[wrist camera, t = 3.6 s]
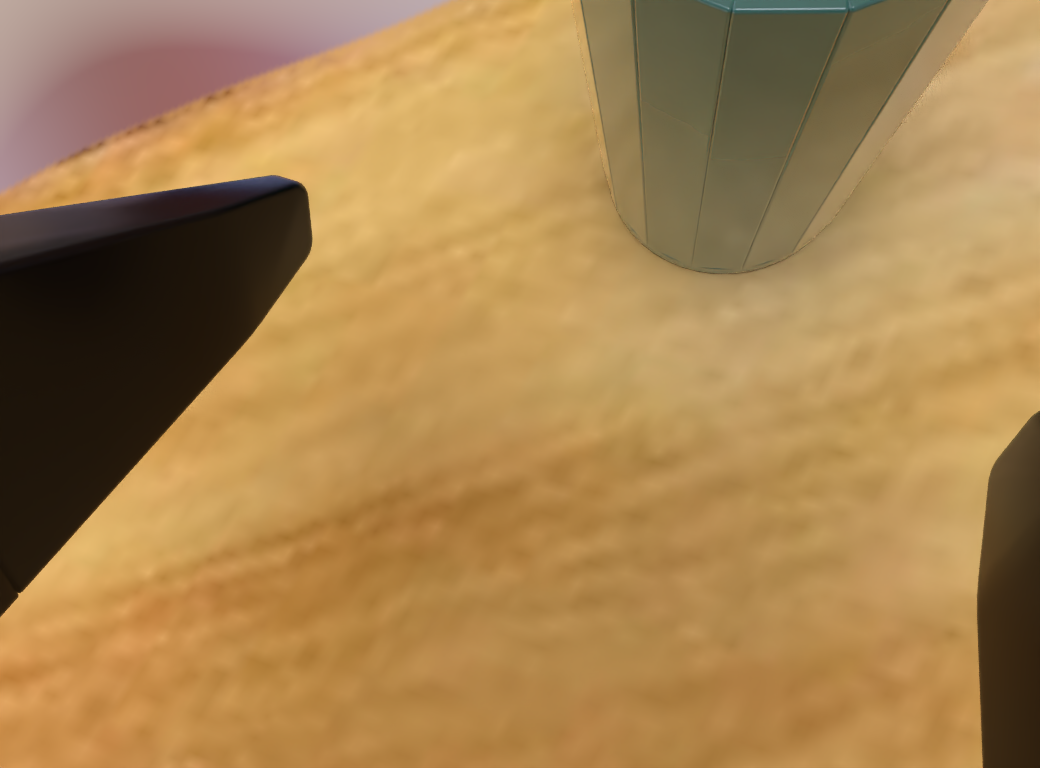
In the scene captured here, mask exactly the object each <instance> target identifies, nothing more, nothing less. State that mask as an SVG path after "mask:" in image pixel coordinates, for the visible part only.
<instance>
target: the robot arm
mask: <svg viewBox="0 0 1040 768" xmlns="http://www.w3.org/2000/svg"><path fill="white" fill-rule="evenodd" d="M311 247H312V229H311V220H310V210H309V200H308V193H307V191H306V188H305V187H304V186H303V185H302V184H301V183H299V182H297V181H294V180H290V179H287V178H284V177H281V176H276V175H271V176H264V177H257V178H250V179H244V180H237V181H230V182H223V183H216V184H210V185H203V186H196V187H189V188H182V189H175V190H169V191H162V192H155V193H148V194H141V195H135V196H128V197H121V198H114V199H107V200H101V201H94V202H87V203H80V204H73V205H67V206H60V207H53V208H46V209H39V210H33V211H26V212H19V213H12V214H5V215H0V617H1V616H2V615H3V613H4V612H5V611H6V610H7V609H8V608H9V607H10V606H11V604H12V603H13V602H14V601H15V600H16V599H17V598H18V593H21V592H22V591H23V590H24V589H25V588H26V587H27V586H28V585H29V584H30V583H31V581H32V580H33V579H34V578H35V577H36V576H37V575H38V574H39V573H40V571H41V570H42V569H43V568H44V567H45V566H46V565H47V564H48V562H49V561H50V560H51V559H52V558H53V557H54V556H55V555H56V554H57V552H58V551H59V550H60V549H61V548H62V547H63V546H64V545H65V543H66V542H67V541H68V540H69V539H70V538H71V537H72V536H73V535H74V533H75V532H76V531H77V530H78V529H79V528H80V527H81V526H82V524H83V523H84V522H85V521H86V520H87V519H88V518H89V517H90V516H91V514H92V513H93V512H94V511H95V510H96V509H97V508H98V507H99V505H100V504H101V503H102V502H103V501H104V500H105V499H106V498H107V497H108V495H109V494H110V493H111V492H112V491H113V490H114V489H115V488H116V487H117V485H118V484H119V483H120V482H121V481H122V480H123V479H124V478H125V476H126V475H127V474H128V473H129V472H130V471H131V470H132V469H133V468H134V466H135V465H136V464H137V463H138V462H139V461H140V460H141V459H142V457H143V456H144V455H145V454H146V453H147V452H148V451H149V450H150V449H151V447H152V446H153V445H154V444H155V443H156V442H157V441H158V440H159V438H160V437H161V436H162V435H163V434H164V433H165V432H166V431H167V430H168V428H169V427H170V426H171V425H172V424H173V423H174V422H175V421H176V420H177V418H178V417H179V416H180V415H181V414H182V413H183V412H184V411H185V409H186V408H187V407H188V406H189V405H190V404H191V403H192V402H193V401H194V399H195V398H196V397H197V396H198V395H199V394H200V393H201V392H202V390H203V389H204V388H205V387H206V386H207V385H208V384H209V383H210V382H211V380H212V379H213V378H214V377H215V376H216V375H217V374H218V373H219V371H220V370H221V369H222V368H223V367H224V366H225V365H226V364H227V363H228V361H229V360H230V359H231V358H232V357H233V356H234V355H235V354H236V352H237V351H238V350H239V349H240V348H241V347H242V346H243V345H244V343H245V342H246V341H247V340H248V339H249V337H250V336H251V335H252V334H253V332H254V331H255V330H256V328H257V327H258V326H259V324H260V323H261V322H262V320H263V319H264V318H265V316H266V315H267V313H268V312H269V311H270V309H271V308H272V306H273V305H274V304H275V302H276V301H277V299H278V298H279V297H280V295H281V294H282V292H283V291H284V289H285V288H286V287H287V285H288V284H289V282H290V281H291V280H292V278H293V277H294V275H295V274H296V273H297V271H298V270H299V268H300V267H301V266H302V264H303V263H304V261H305V260H306V259H307V257H308V255H309V253H310V250H311ZM977 624H978V651H979V677H980V704H981V731H982V757H983V768H1040V411H1038V412H1037V413H1036V414H1034V415H1033V416H1032V417H1031V418H1030V419H1029V420H1028V422H1027V423H1026V424H1025V425H1024V426H1023V428H1022V429H1021V430H1020V431H1019V433H1018V434H1017V435H1016V436H1015V438H1014V439H1013V440H1012V441H1011V443H1010V444H1009V445H1008V446H1007V448H1006V449H1005V450H1004V451H1003V453H1002V454H1001V455H1000V456H999V458H998V459H997V460H996V462H995V464H994V466H993V468H992V470H991V473H990V477H989V482H988V492H987V501H986V511H985V520H984V530H983V539H982V549H981V558H980V568H979V577H978V592H977Z"/></svg>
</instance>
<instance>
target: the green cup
mask: <svg viewBox="0 0 1040 768" xmlns="http://www.w3.org/2000/svg"><path fill="white" fill-rule="evenodd" d="M987 2H988V0H571V3H572V8H573V13H574V18H575V24H576V29H577V34H578V39H579V44H580V49H581V54H582V60H583V65H584V70H585V75H586V80H587V85H588V91H589V96H590V101H591V106H592V111H593V116H594V122H595V127H596V132H597V137H598V142H599V147H600V153H601V158H602V163H603V168H604V172H605V175H606V178H607V182H608V185H609V189H610V193H611V197H612V200H613V202H614V205H615V207H616V210H617V212H618V213H619V215H620V217H621V219H622V221H623V222H624V224H625V225H626V226H627V228H628V229H629V230H630V232H631V233H632V234H633V235H634V236H635V237H636V238H637V239H638V240H639V241H640V242H641V243H642V244H643V245H644V246H645V247H647V248H648V249H649V250H651V251H652V252H653V253H655V254H656V255H658V256H660V257H661V258H663V259H665V260H667V261H668V262H671V263H673V264H676V265H678V266H681V267H683V268H687V269H691V270H695V271H699V272H706V273H714V274H732V273H740V272H748V271H752V270H756V269H760V268H764V267H766V266H769V265H772V264H774V263H777V262H779V261H781V260H783V259H785V258H787V257H789V256H791V255H793V254H794V253H796V252H797V251H799V250H800V249H801V248H803V247H804V246H806V245H807V244H808V243H809V242H810V241H812V240H813V239H814V238H815V237H816V236H817V235H818V234H819V233H820V232H821V231H822V230H823V228H825V227H826V226H827V225H828V224H830V223H831V221H832V220H833V219H834V218H835V216H836V215H837V213H838V212H839V211H840V209H841V208H842V206H843V205H844V204H845V202H846V201H847V199H848V198H849V196H850V195H851V194H852V192H853V191H854V189H855V188H856V187H857V185H858V184H859V182H860V181H861V180H862V178H863V177H864V175H865V174H866V172H867V171H868V170H869V168H870V167H871V165H872V164H873V163H874V161H875V160H876V158H877V157H878V156H879V154H880V153H881V151H882V150H883V148H884V147H885V146H886V144H887V143H888V141H889V140H890V139H891V137H892V136H893V134H894V133H895V132H896V130H897V129H898V127H899V126H900V124H901V123H902V122H903V120H904V119H905V117H906V116H907V115H908V113H909V112H910V110H911V109H912V108H913V106H914V105H915V103H916V102H917V100H918V99H919V98H920V96H921V95H922V93H923V92H924V91H925V89H926V88H927V86H928V85H929V84H930V82H931V81H932V79H933V78H934V76H935V75H936V74H937V72H938V71H939V69H940V68H941V67H942V65H943V64H944V62H945V61H946V60H947V58H948V57H949V55H950V54H951V52H952V51H953V50H954V48H955V47H956V45H957V44H958V43H959V41H960V40H961V38H962V37H963V36H964V34H965V33H966V31H967V30H968V28H969V27H970V26H971V24H972V23H973V21H974V20H975V19H976V17H977V16H978V14H979V13H980V12H981V10H982V9H983V7H984V6H985V5H986V3H987Z"/></svg>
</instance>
